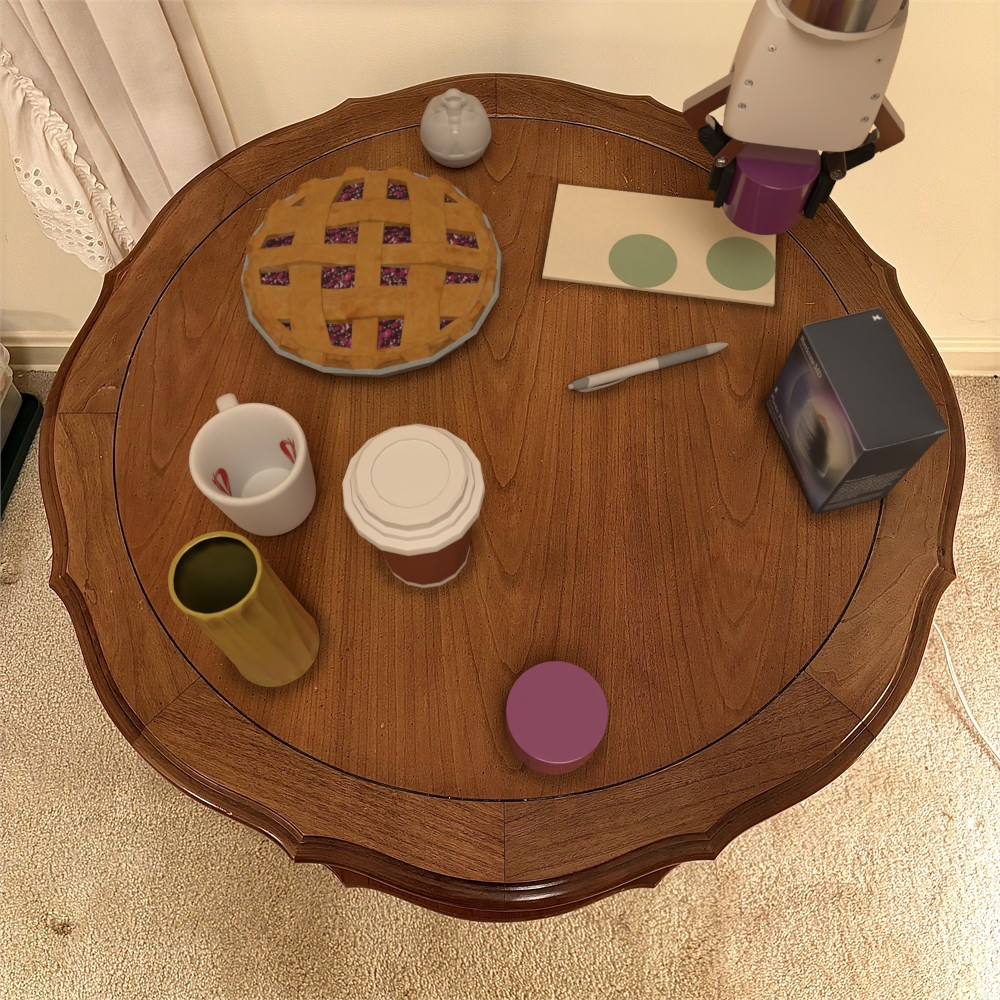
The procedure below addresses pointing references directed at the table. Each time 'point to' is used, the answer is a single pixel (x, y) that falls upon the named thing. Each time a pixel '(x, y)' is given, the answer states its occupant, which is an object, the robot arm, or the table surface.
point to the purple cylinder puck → (770, 187)
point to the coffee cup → (416, 500)
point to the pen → (644, 367)
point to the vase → (244, 608)
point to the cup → (254, 466)
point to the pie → (371, 272)
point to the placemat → (657, 246)
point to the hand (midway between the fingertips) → (763, 199)
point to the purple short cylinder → (555, 717)
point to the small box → (851, 410)
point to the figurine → (455, 129)
